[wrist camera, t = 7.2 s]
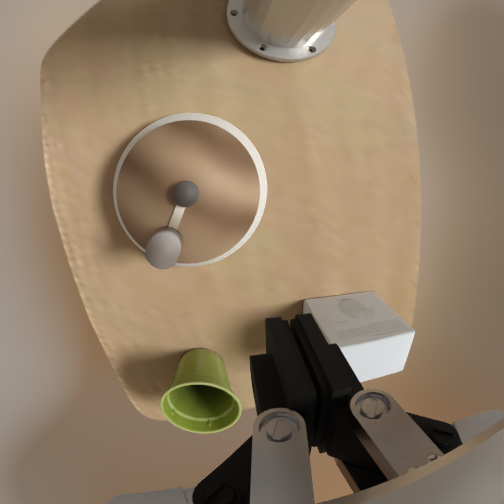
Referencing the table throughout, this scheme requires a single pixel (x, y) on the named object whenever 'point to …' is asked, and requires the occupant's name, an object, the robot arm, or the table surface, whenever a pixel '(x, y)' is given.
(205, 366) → the plant pot
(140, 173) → the dial
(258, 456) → the robot arm
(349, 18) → the table surface
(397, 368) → the skincare box
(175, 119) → the stand
